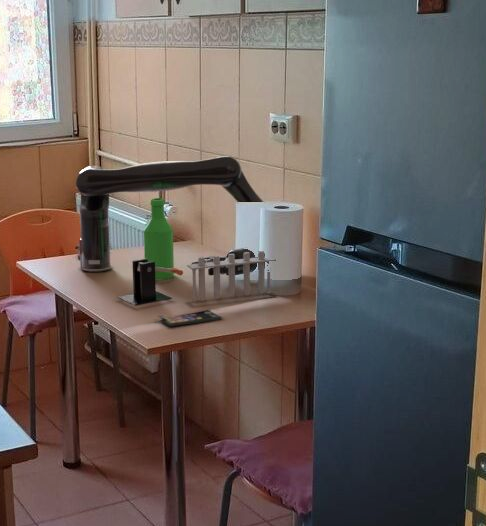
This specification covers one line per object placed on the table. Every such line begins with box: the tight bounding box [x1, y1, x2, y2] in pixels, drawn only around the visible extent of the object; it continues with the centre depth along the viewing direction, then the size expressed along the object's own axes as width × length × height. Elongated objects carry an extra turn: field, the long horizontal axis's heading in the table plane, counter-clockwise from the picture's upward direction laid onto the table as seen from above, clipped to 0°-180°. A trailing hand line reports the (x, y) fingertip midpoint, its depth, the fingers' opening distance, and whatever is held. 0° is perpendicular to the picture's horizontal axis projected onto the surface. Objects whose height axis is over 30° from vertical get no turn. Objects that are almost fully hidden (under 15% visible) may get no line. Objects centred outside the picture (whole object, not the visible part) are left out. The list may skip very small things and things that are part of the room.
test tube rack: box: [186, 251, 277, 302], centre depth 258 cm, size 25×4×13 cm, turn 105°
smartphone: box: [157, 309, 222, 327], centre depth 243 cm, size 8×15×1 cm, turn 113°
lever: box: [137, 262, 184, 276], centre depth 262 cm, size 13×5×2 cm, turn 119°
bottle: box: [143, 197, 175, 281], centre depth 281 cm, size 9×9×25 cm
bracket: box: [117, 257, 173, 307], centre depth 260 cm, size 12×10×12 cm
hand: (200, 268), depth 268 cm, fingers open, 8 cm apart
